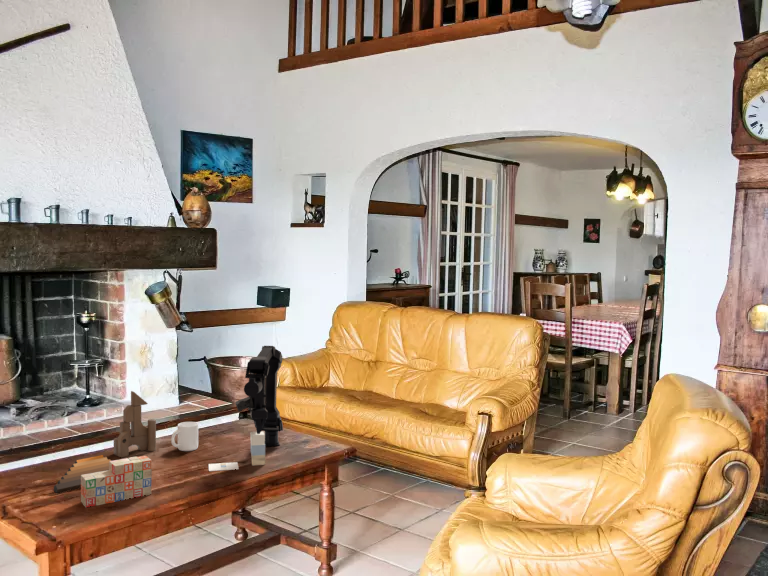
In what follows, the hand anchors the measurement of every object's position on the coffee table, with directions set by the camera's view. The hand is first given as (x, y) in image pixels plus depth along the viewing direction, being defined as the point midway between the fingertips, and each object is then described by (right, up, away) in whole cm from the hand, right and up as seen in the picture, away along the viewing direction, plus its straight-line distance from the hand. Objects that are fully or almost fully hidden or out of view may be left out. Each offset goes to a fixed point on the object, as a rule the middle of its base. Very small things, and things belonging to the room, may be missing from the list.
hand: (257, 430), depth 268 cm
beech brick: (0, -13, +1) cm, 13 cm away
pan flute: (-61, -14, -18) cm, 65 cm away
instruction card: (-12, -13, -4) cm, 18 cm away
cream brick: (0, -5, 0) cm, 5 cm away
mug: (-34, -12, +17) cm, 39 cm away
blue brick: (0, -9, +1) cm, 9 cm away
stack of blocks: (-40, -15, -38) cm, 57 cm away
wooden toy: (-52, -12, +12) cm, 54 cm away
